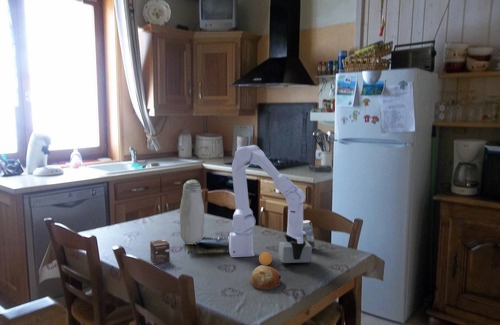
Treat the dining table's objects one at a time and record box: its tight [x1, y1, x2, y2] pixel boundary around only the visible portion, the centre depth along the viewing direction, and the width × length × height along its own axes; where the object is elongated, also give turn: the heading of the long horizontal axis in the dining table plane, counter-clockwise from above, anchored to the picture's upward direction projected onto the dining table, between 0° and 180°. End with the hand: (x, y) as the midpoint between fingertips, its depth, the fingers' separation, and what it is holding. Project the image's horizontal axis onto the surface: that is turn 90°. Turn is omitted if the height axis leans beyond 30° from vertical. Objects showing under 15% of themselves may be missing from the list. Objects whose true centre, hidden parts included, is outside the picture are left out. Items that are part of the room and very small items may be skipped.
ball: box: [258, 251, 273, 266], centre depth 153 cm, size 5×5×5 cm
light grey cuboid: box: [278, 241, 313, 264], centre depth 155 cm, size 11×6×6 cm, turn 100°
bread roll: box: [249, 264, 282, 291], centre depth 137 cm, size 10×10×8 cm
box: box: [149, 239, 171, 265], centre depth 156 cm, size 6×6×7 cm
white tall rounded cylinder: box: [179, 179, 205, 245], centre depth 174 cm, size 10×10×28 cm
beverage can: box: [303, 219, 315, 249], centre depth 171 cm, size 6×7×12 cm
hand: (294, 255), depth 155 cm, fingers closed on light grey cuboid, 6 cm apart
